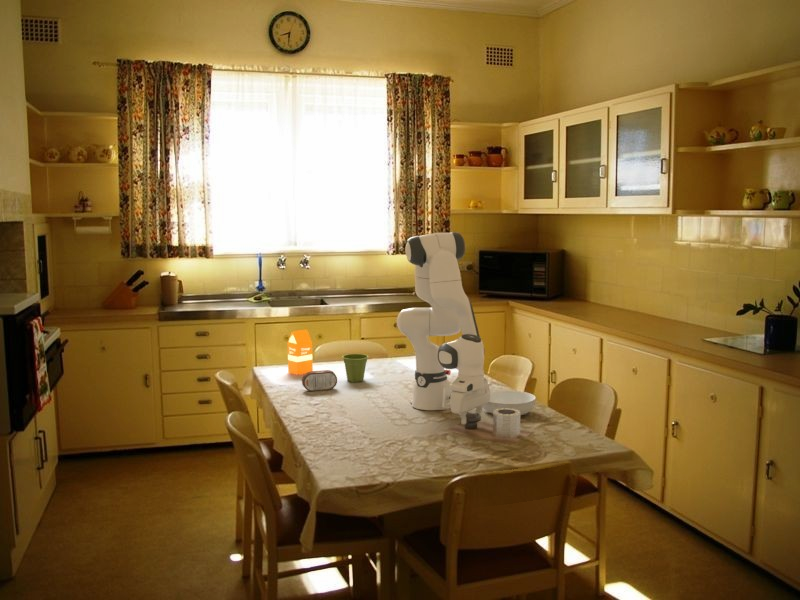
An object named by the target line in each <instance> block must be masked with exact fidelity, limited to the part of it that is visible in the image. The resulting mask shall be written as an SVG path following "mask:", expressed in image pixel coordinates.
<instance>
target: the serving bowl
mask: <svg viewBox="0 0 800 600" xmlns="http://www.w3.org/2000/svg"><path fill="white" fill-rule="evenodd" d="M536 400H537V397H536V395H535V394H532V393H529V392H528V391H527V392H526V391H520V390H508V389H507V390H505V389H504V390H494V391H493V390H492V391H490V401H489V403H487V404H484V405H483V408H482V409H483V410H485V411H486V412H487V413H489V414H492V415H493V410H495V409H500V408H511V409H517V410H519V411H520V416H524V415H527V414H528V413H530V412H531V411H532V410H533V409H534V407H535V405H536Z"/></svg>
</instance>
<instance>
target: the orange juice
mask: <svg viewBox="0 0 800 600" xmlns="http://www.w3.org/2000/svg"><path fill="white" fill-rule="evenodd" d="M287 362H288V363H287V365H288V366H287V367H288V369H287V370H288V373H289V372H290V373H289V374H293V373H294V375H297V374H299V375H304V374H306V373H307V372H310V371H314V370H313V342H312V339H311V336H310V333H309V331H308V329H301V330H295V331H291V334H290V336H289V339H288V340H287ZM303 373H304V374H303Z"/></svg>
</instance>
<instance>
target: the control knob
mask: <svg viewBox="0 0 800 600" xmlns="http://www.w3.org/2000/svg"><path fill="white" fill-rule="evenodd" d="M474 413H475V412H474ZM474 413H473V412H469V411H467V412H466V418H468V423H467V424H465V429H469V430H474V429H477V422H478V421H479V422H481V420H482V416H480V415H477V414H474Z"/></svg>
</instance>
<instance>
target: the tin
mask: <svg viewBox="0 0 800 600" xmlns="http://www.w3.org/2000/svg"><path fill="white" fill-rule="evenodd" d="M301 379H302V380H301V384H302V386H303V388H305V390H307V391H309V392H320V390H322V391H330V389H331V390H332V389H334V388H335V387H336V386H337V384H338V377H337V375H336V374H335V372H334V371H332V370H330V369H328V370H326V369H325V370H313V371H310V372H307V373H304V374H303V376H302V378H301Z"/></svg>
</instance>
